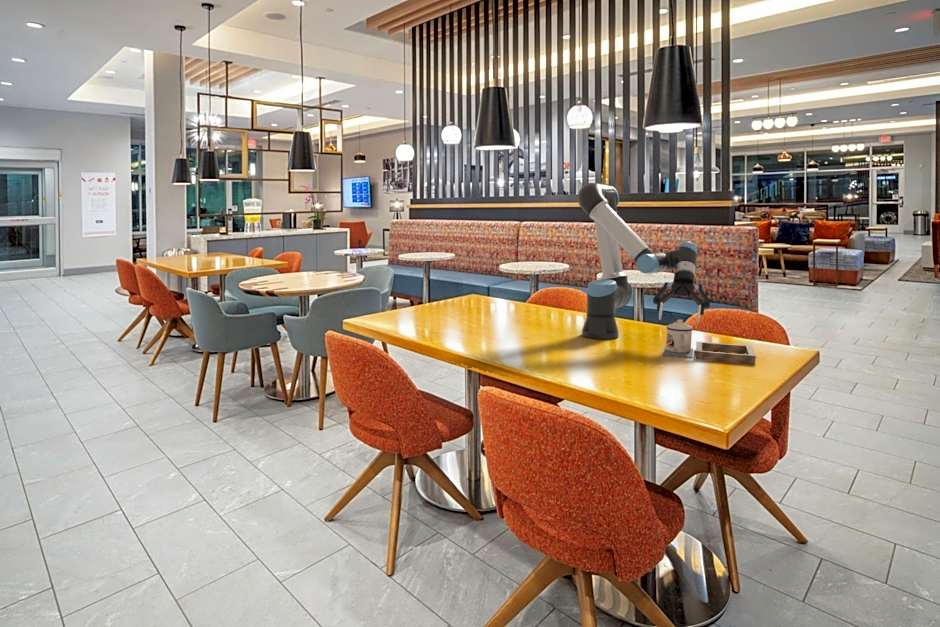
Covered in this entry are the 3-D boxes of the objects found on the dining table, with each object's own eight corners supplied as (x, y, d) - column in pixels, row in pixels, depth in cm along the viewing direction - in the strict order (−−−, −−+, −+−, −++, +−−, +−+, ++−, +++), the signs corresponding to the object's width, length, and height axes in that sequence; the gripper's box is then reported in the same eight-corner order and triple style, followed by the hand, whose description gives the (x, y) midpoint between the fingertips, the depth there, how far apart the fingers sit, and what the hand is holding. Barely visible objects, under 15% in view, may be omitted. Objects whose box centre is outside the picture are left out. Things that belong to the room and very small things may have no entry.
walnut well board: (695, 359, 205) (695, 351, 205) (695, 349, 222) (696, 341, 221) (755, 364, 199) (755, 356, 198) (751, 353, 215) (751, 345, 215)
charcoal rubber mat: (662, 355, 211) (662, 354, 211) (665, 347, 225) (665, 346, 224) (692, 358, 207) (692, 357, 207) (693, 349, 221) (693, 348, 221)
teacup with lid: (661, 347, 222) (663, 317, 220) (685, 348, 222) (687, 317, 220) (672, 355, 210) (674, 323, 208) (698, 355, 210) (700, 323, 208)
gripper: (651, 267, 230) (643, 310, 219) (719, 271, 221) (715, 316, 210) (651, 279, 236) (644, 322, 225) (718, 283, 227) (714, 328, 215)
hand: (678, 319), depth 217 cm, fingers open, 13 cm apart
